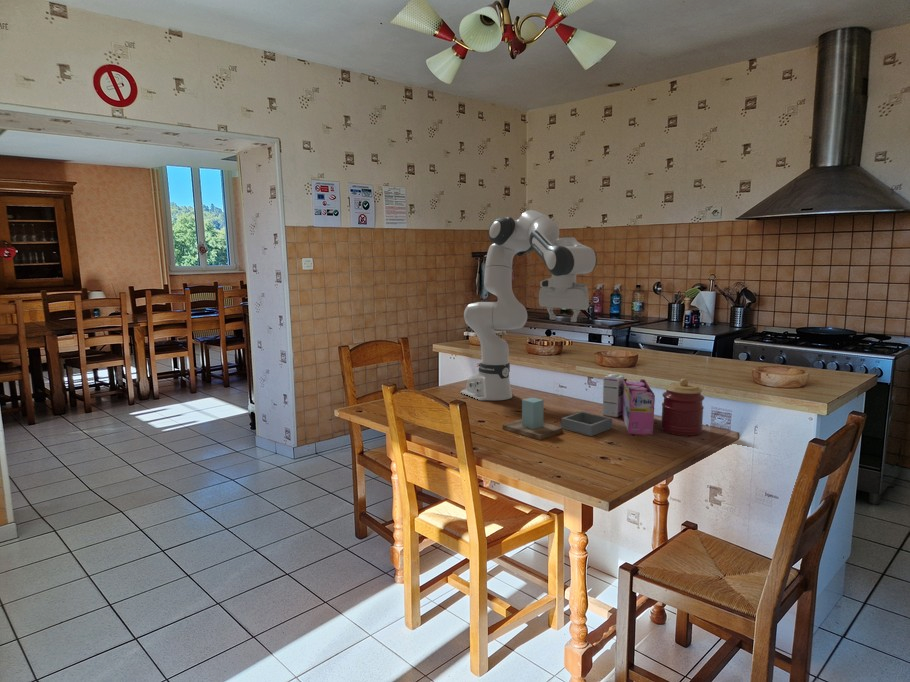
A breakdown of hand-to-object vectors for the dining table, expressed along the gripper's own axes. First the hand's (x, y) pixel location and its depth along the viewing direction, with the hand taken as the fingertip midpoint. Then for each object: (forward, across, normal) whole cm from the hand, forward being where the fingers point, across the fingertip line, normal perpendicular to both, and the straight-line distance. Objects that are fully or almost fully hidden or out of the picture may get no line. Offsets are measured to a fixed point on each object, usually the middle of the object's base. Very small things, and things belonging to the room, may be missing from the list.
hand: (562, 320), depth 212 cm
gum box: (+34, -28, -5) cm, 45 cm away
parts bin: (+34, -19, +11) cm, 41 cm away
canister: (+34, -42, -10) cm, 55 cm away
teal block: (+33, -8, +26) cm, 42 cm away
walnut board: (+34, -8, +26) cm, 44 cm away
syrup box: (+34, -16, -10) cm, 39 cm away
